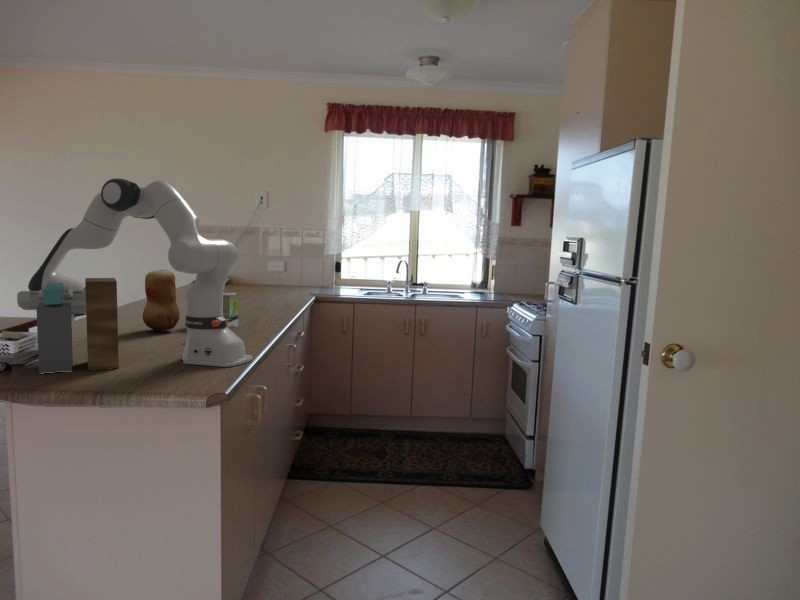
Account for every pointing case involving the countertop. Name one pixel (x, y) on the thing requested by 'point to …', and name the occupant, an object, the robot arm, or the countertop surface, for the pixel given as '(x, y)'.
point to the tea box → (231, 307)
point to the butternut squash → (160, 301)
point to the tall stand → (102, 323)
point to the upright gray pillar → (54, 337)
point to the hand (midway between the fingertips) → (55, 289)
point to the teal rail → (53, 293)
